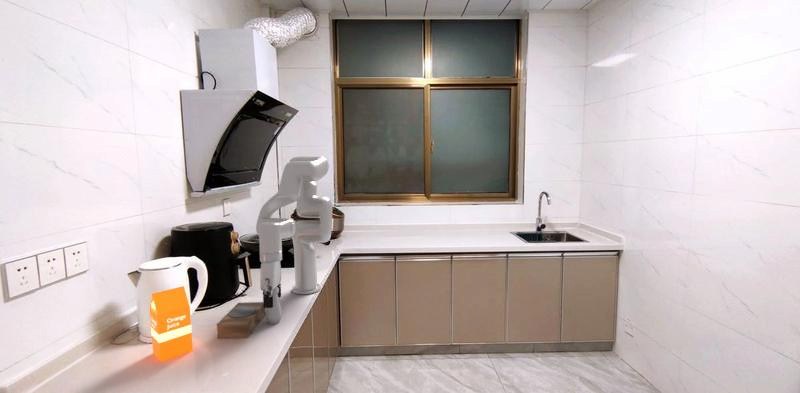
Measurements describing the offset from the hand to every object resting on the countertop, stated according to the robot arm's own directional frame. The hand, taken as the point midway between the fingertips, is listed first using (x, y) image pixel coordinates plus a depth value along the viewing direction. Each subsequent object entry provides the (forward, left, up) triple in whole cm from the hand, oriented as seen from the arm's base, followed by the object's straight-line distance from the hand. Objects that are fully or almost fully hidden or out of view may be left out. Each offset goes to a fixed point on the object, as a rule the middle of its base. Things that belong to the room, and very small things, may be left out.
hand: (272, 302), depth 134 cm
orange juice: (+20, -25, -8) cm, 33 cm away
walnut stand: (+3, -10, -8) cm, 13 cm away
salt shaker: (0, 0, -8) cm, 8 cm away
